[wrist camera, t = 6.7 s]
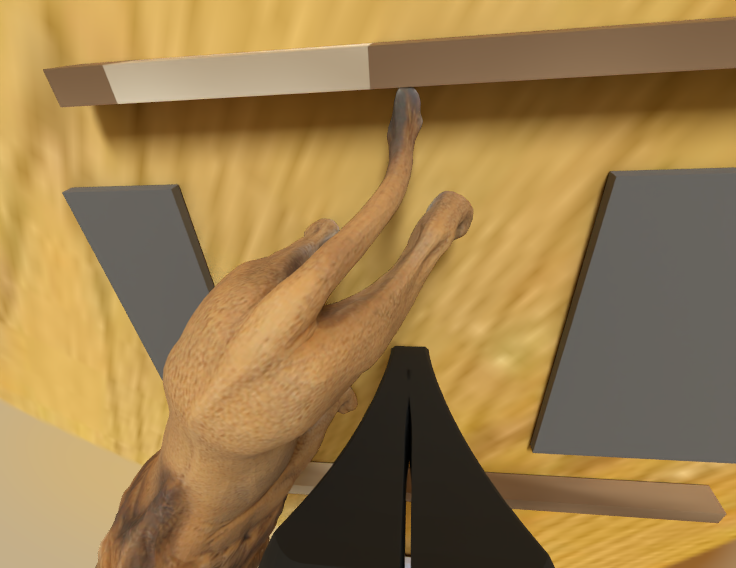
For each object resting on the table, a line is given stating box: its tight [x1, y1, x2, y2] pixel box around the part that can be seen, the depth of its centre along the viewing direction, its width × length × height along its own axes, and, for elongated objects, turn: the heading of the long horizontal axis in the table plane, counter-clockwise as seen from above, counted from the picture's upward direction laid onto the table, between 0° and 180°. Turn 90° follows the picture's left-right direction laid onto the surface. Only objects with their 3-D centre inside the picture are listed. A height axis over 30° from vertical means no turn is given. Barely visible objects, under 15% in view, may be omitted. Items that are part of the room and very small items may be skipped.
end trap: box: [62, 185, 214, 380], centre depth 15 cm, size 12×4×1 cm, turn 4°
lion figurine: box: [95, 87, 473, 568], centre depth 9 cm, size 15×5×9 cm, turn 165°
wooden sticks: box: [43, 17, 736, 523], centre depth 13 cm, size 18×22×1 cm
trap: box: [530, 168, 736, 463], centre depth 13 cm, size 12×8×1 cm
